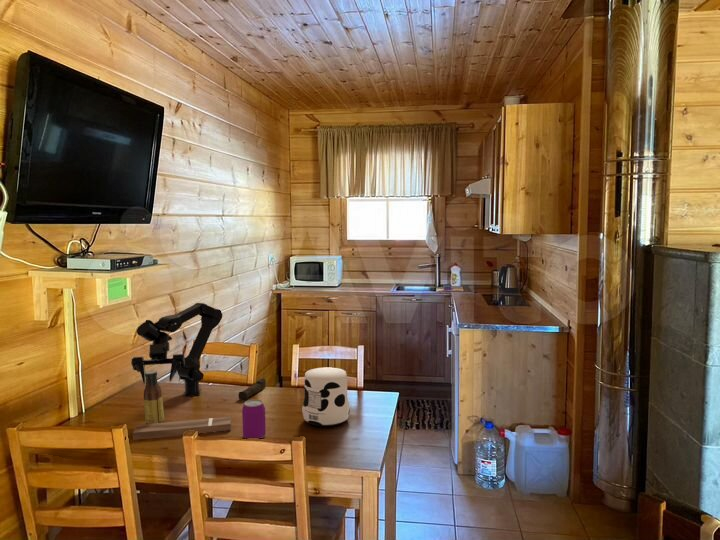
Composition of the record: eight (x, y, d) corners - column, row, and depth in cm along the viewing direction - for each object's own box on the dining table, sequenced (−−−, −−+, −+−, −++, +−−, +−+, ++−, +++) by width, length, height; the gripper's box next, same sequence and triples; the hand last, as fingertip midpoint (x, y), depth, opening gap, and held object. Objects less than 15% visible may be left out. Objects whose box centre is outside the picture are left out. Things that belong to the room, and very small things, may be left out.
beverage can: (269, 433, 180) (268, 399, 179) (260, 442, 173) (259, 407, 172) (248, 431, 182) (247, 398, 181) (239, 440, 175) (237, 405, 173)
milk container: (346, 411, 201) (345, 365, 199) (353, 428, 184) (352, 378, 182) (301, 414, 198) (300, 367, 196) (304, 432, 181) (303, 381, 179)
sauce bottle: (159, 420, 193) (157, 367, 191) (167, 424, 188) (164, 371, 187) (142, 425, 188) (139, 371, 186) (149, 430, 184) (146, 375, 182)
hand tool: (246, 401, 213) (246, 390, 212) (238, 400, 214) (237, 389, 214) (271, 388, 230) (270, 377, 230) (263, 387, 232) (263, 376, 231)
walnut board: (137, 431, 182) (136, 424, 182) (231, 423, 189) (231, 416, 189) (133, 440, 176) (132, 432, 175) (230, 430, 182) (230, 423, 182)
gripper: (130, 336, 196) (126, 373, 187) (182, 333, 200) (180, 369, 191) (136, 351, 205) (131, 387, 195) (185, 348, 209) (184, 383, 199)
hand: (157, 382), depth 195 cm, fingers open, 9 cm apart
